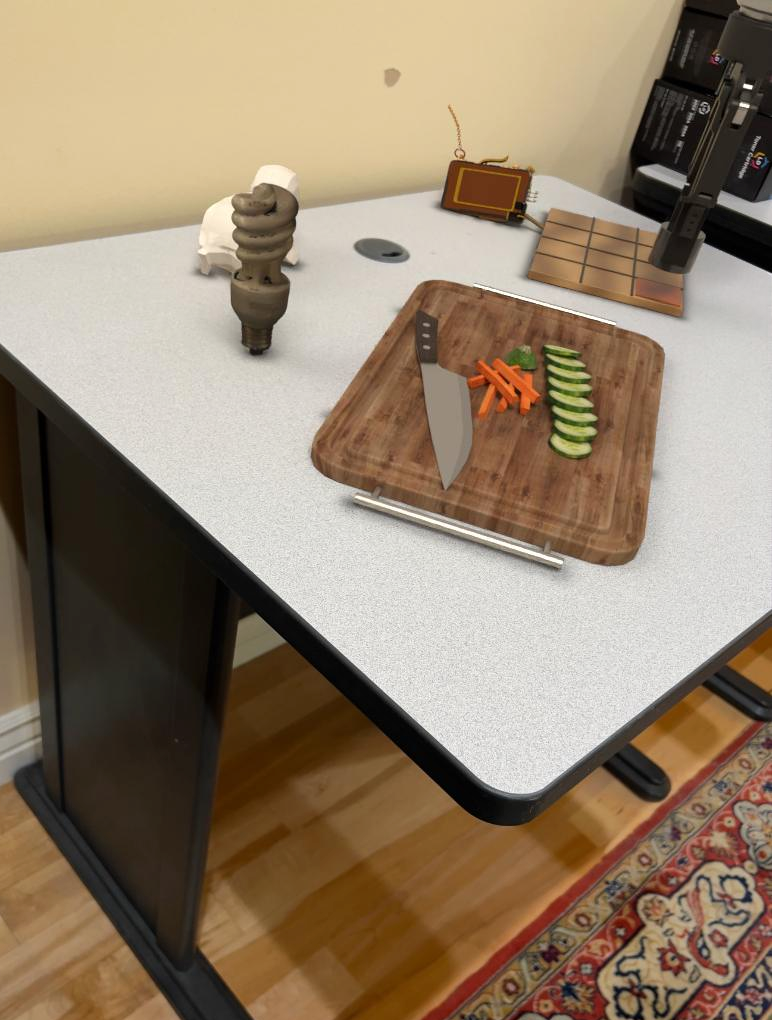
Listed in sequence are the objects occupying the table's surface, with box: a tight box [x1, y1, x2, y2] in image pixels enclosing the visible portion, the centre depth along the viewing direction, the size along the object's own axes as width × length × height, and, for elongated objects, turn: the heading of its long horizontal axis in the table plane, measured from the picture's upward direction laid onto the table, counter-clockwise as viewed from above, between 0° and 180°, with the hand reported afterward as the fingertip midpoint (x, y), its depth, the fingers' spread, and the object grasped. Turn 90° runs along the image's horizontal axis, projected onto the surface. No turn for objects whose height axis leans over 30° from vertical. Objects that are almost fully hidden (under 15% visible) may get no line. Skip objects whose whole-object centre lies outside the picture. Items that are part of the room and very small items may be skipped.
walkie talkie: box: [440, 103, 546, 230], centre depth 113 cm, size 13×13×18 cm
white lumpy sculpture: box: [197, 164, 300, 276], centre depth 95 cm, size 9×8×15 cm
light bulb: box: [229, 183, 300, 356], centre depth 77 cm, size 6×6×15 cm
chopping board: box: [310, 279, 666, 569], centre depth 81 cm, size 45×27×3 cm, turn 161°
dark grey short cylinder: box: [648, 221, 707, 275], centre depth 100 cm, size 5×5×4 cm
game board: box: [527, 206, 684, 318], centre depth 112 cm, size 18×24×1 cm
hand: (672, 254), depth 101 cm, fingers closed on dark grey short cylinder, 5 cm apart
